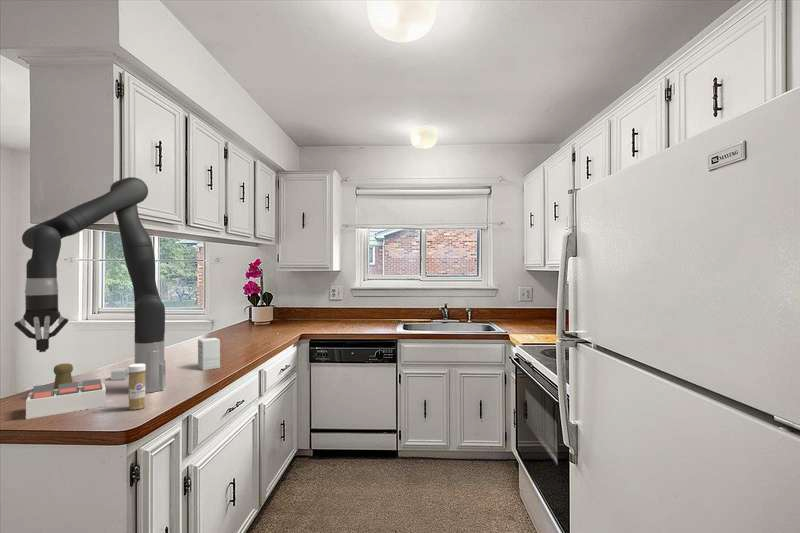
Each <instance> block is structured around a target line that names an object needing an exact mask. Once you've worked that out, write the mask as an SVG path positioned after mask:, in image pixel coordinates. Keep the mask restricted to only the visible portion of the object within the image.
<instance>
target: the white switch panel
mask: <svg viewBox="0 0 800 533" xmlns="http://www.w3.org/2000/svg"><path fill="white" fill-rule="evenodd" d="M82 387H83V385H78V393H73V394H66V395H59V396H58V389H56V390H54V391H53V396H51V397H44V398H37V399H32V393H33V392H29V393H28V395H27V398H26V400H25V419H26V420H30V419H37V418H43V417H49V416H55V415H60V414H61V415H62V414H67V413H73V412H74V411H75V412H80V410H81V411H85V410H86V409H88V410H93V408H94V409H100V408H106V407H107V406H106V405H107V400H106V398H107V396H106V395H107V390H106V389H107V388H106V385H105V382H103V383H102V382H101V390H95V391H88V392H82ZM105 406H106V407H105ZM99 407H100V408H99ZM86 411H87V410H86ZM75 412H74V413H75Z"/></svg>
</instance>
